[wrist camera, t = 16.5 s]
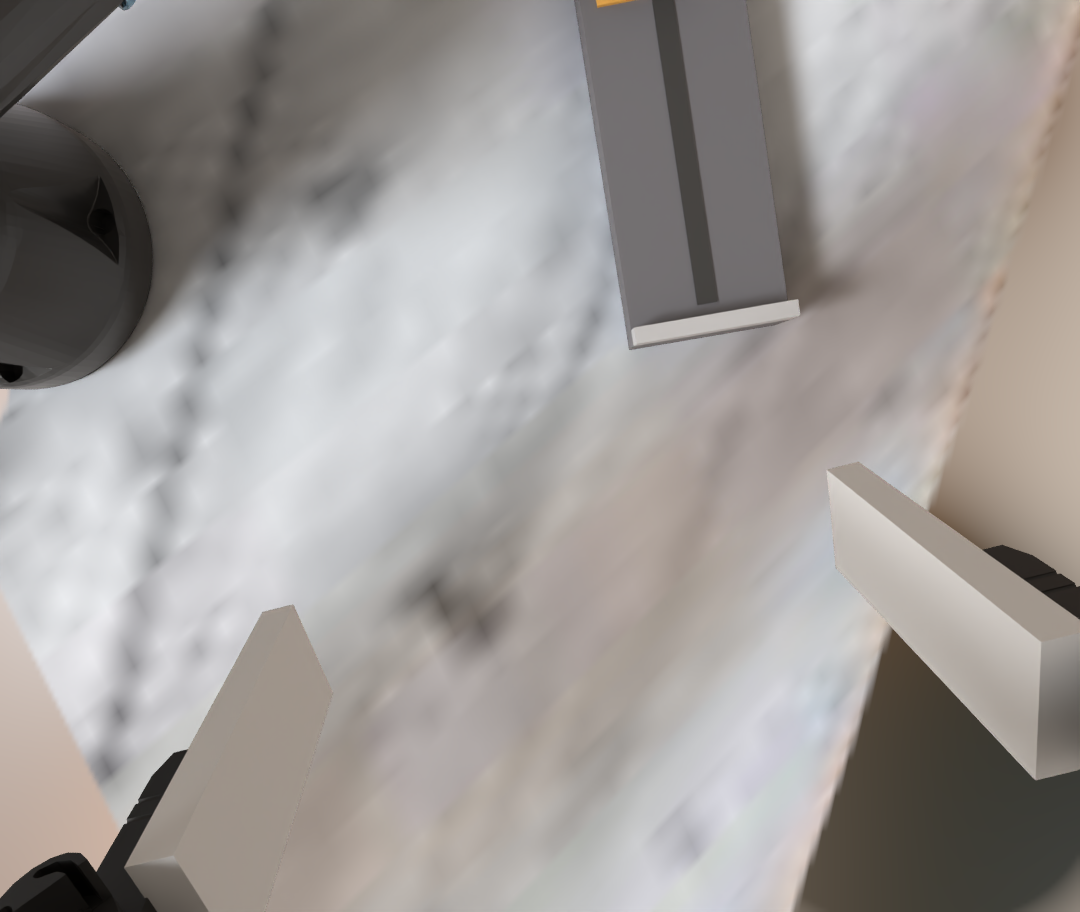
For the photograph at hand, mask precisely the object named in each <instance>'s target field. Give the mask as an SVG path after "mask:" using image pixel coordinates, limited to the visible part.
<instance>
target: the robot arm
mask: <svg viewBox="0 0 1080 912" xmlns="http://www.w3.org/2000/svg"><path fill="white" fill-rule="evenodd" d="M135 1H136V0H0V389H44V388H50V387H56V386H60V385H64V384H67V383H70V382H72V381H75V380H77V379H80V378H82V377H84V376H86V375H87V374H89V373H91V372H93V371H94V370H96V369H97V368H99V367H100V366H101V365H103V364H104V363H105V362H107V361H108V360H109V359H110V358H111V357H112V356H113V355H114V354H115V353H116V352H117V351H118V350H119V349H120V348H121V347H122V345H123V344H124V343H125V342H126V340H127V339H128V337H129V336H130V334H131V333H132V331H133V330H134V328H135V326H136V324H137V322H138V320H139V318H140V316H141V314H142V311H143V309H144V306H145V303H146V300H147V297H148V292H149V288H150V282H151V275H152V245H151V237H150V232H149V227H148V223H147V219H146V216H145V213H144V210H143V207H142V205H141V202H140V200H139V198H138V196H137V194H136V192H135V190H134V188H133V186H132V185H131V183H130V181H129V180H128V178H127V177H126V175H125V174H124V173H123V171H122V170H121V168H120V167H119V166H118V165H117V164H116V163H115V161H114V160H113V159H112V158H111V157H110V156H109V155H108V154H107V153H106V152H105V151H104V150H102V149H101V148H100V147H99V146H98V145H96V144H95V143H94V142H93V141H91V140H90V139H88V138H87V137H85V136H84V135H82V134H80V133H79V132H77V131H75V130H73V129H71V128H70V127H68V126H66V125H64V124H62V123H60V122H58V121H57V120H55V119H53V118H51V117H49V116H47V115H45V114H43V113H41V112H38V111H36V110H33V109H30V108H27V107H25V106H21V105H18V104H16V103H17V102H18V101H19V100H20V99H21V98H22V97H23V96H24V95H25V94H26V93H27V92H28V91H30V90H31V89H32V88H33V87H34V86H35V85H36V84H37V83H38V82H39V81H40V80H41V79H42V78H43V77H44V76H45V75H46V74H47V73H49V72H50V71H51V70H52V69H53V68H54V67H55V66H56V65H57V64H58V63H59V62H60V61H61V60H62V59H63V58H64V57H65V56H67V55H68V54H69V53H70V52H71V51H72V50H73V49H74V48H75V47H76V46H77V45H78V44H79V43H80V42H81V41H82V40H83V39H84V38H86V37H87V36H88V35H89V34H90V33H91V32H92V31H93V30H94V29H95V28H96V27H97V26H98V25H99V24H100V23H101V22H102V21H103V20H105V19H106V18H107V17H108V16H109V15H110V14H111V13H112V12H113V11H114V10H115V9H116V8H117V7H120V8H121V9H122V10H128V9H129V8H130V7H132V6H133V4H134V3H135ZM827 478H828V489H829V500H830V511H831V522H832V533H833V544H834V555H835V566H836V569H837V570H838V571H839V572H840V573H841V574H842V575H843V576H844V577H845V578H846V579H847V580H848V581H849V582H850V583H851V585H852V586H853V587H854V588H855V589H856V590H857V591H858V592H859V593H860V594H861V595H862V596H863V597H864V598H865V599H866V600H867V602H868V603H869V604H870V605H871V606H872V607H873V608H874V609H875V610H876V611H877V612H878V613H879V614H880V615H881V616H882V618H883V619H884V620H885V621H886V622H887V623H888V624H889V625H890V626H891V627H892V628H893V629H894V630H895V631H896V632H897V633H898V634H899V635H900V637H901V638H902V639H903V640H904V641H905V642H906V643H907V644H908V645H909V646H910V647H911V648H912V649H913V650H914V652H915V653H916V654H917V655H918V656H919V657H920V658H921V659H922V660H923V661H924V662H925V663H926V664H927V665H928V666H929V667H930V669H931V670H932V671H933V672H934V673H935V674H936V675H937V676H938V677H939V678H940V679H941V680H942V681H943V682H944V683H945V685H947V686H948V688H949V689H950V690H951V691H952V692H953V693H954V694H955V695H956V696H957V697H958V698H959V699H960V700H961V702H962V703H963V704H964V705H965V706H966V707H967V708H968V709H969V710H970V711H971V712H972V713H973V714H974V715H975V716H976V718H978V720H979V721H980V722H981V723H982V724H983V725H984V726H985V727H986V728H987V729H988V730H989V731H990V732H991V733H992V735H993V736H994V737H995V738H996V739H997V740H998V741H999V742H1000V743H1001V744H1002V745H1003V746H1004V747H1005V748H1006V749H1007V750H1008V752H1009V753H1010V754H1011V755H1012V756H1013V757H1014V758H1015V759H1016V760H1017V761H1018V762H1019V763H1020V764H1021V765H1022V766H1023V767H1024V768H1025V770H1026V771H1027V772H1028V773H1029V774H1030V775H1031V776H1032V777H1033V778H1034V779H1035V780H1039V779H1042V778H1047V777H1051V776H1055V775H1059V774H1063V773H1067V772H1072V771H1076V770H1080V586H1079V587H1076V585H1075V583H1074V582H1072V581H1071V580H1069V579H1068V578H1066V577H1065V576H1063V575H1062V574H1057V573H1056V571H1055V570H1054V569H1053V568H1051V567H1049V566H1048V565H1047V564H1045V563H1043V562H1042V561H1040V560H1039V559H1037V558H1036V557H1034V556H1033V555H1030V554H1027V553H1024V552H1021V551H1018V550H1015V549H1013V548H1009V547H1007V546H1004V545H1000V546H996V547H992V548H988V549H984V550H981V549H980V548H978V547H977V546H976V545H974V544H973V543H971V542H970V541H969V540H967V539H966V538H965V537H963V536H961V535H960V534H959V533H958V532H956V531H955V530H953V529H952V528H950V527H949V526H948V525H946V524H945V523H943V522H942V521H940V520H939V519H938V518H936V517H935V516H934V515H932V514H931V513H929V512H928V511H927V510H925V509H924V508H922V507H921V506H920V505H918V504H917V503H915V502H914V501H913V500H911V499H910V498H908V497H907V496H906V495H904V494H903V493H901V492H900V491H899V490H897V489H896V488H894V487H893V486H892V485H890V484H889V483H887V482H886V481H885V480H883V479H882V478H880V477H879V476H878V475H876V474H875V473H873V472H872V471H871V470H869V469H868V468H866V467H865V466H864V465H862V464H861V463H859V462H856V463H852V464H848V465H844V466H840V467H836V468H832V469H828V470H827ZM332 695H333V692H332V689H331V687H330V685H329V683H328V681H327V678H326V676H325V674H324V672H323V670H322V667H321V665H320V663H319V661H318V658H317V656H316V654H315V652H314V650H313V647H312V645H311V643H310V641H309V638H308V636H307V634H306V632H305V630H304V627H303V625H302V623H301V621H300V619H299V616H298V614H297V612H296V610H295V607H294V605H289V606H285V607H281V608H277V609H273V610H269V611H265V612H262V614H261V616H260V618H259V620H258V621H257V623H256V625H255V627H254V629H253V631H252V632H251V634H250V636H249V638H248V640H247V642H246V644H245V645H244V647H243V649H242V651H241V653H240V655H239V656H238V658H237V660H236V662H235V664H234V666H233V668H232V669H231V671H230V673H229V675H228V677H227V679H226V680H225V682H224V684H223V686H222V688H221V690H220V692H219V693H218V695H217V697H216V699H215V701H214V703H213V704H212V706H211V708H210V710H209V712H208V714H207V716H206V717H205V719H204V721H203V723H202V725H201V727H200V728H199V730H198V732H197V734H196V736H195V738H194V739H193V741H192V743H191V745H190V747H189V749H187V750H183V751H179V752H175V753H173V754H172V755H171V756H170V757H169V759H168V760H167V761H166V762H165V763H164V764H163V765H162V766H161V767H160V768H159V769H158V770H157V771H156V772H155V773H154V774H153V775H152V777H151V779H150V780H149V782H148V784H147V785H146V787H145V789H144V791H143V792H142V794H141V796H140V798H139V799H138V801H139V803H138V804H136V805H135V806H134V808H133V810H132V811H131V813H130V815H129V817H128V818H127V824H124V825H123V827H122V829H121V830H120V832H119V834H118V836H117V837H116V839H115V841H114V842H113V844H112V846H111V848H110V849H109V851H108V853H107V854H106V856H105V858H104V860H103V861H102V863H101V865H100V867H99V868H98V870H97V872H96V871H95V870H94V869H93V867H92V866H91V865H90V863H89V861H88V860H87V859H86V858H85V857H84V856H83V855H82V854H81V853H65V854H62V855H59V856H56V857H53V858H50V859H49V860H47V861H45V862H43V863H42V864H40V865H38V866H37V867H35V868H33V869H31V870H30V871H29V872H28V873H26V874H25V875H24V876H23V877H21V878H20V879H19V880H18V881H16V882H15V883H14V884H13V885H12V886H11V887H10V888H9V889H8V890H7V892H6V893H5V894H4V895H3V896H2V897H1V898H0V912H265V910H266V907H267V904H268V901H269V898H270V894H271V891H272V888H273V885H274V881H275V878H276V875H277V872H278V869H279V865H280V862H281V859H282V856H283V853H284V849H285V846H286V843H287V840H288V836H289V833H290V830H291V827H292V824H293V820H294V817H295V814H296V811H297V808H298V804H299V801H300V798H301V795H302V791H303V788H304V785H305V782H306V779H307V775H308V772H309V769H310V766H311V763H312V759H313V756H314V753H315V750H316V746H317V743H318V740H319V737H320V734H321V730H322V727H323V724H324V721H325V718H326V714H327V711H328V708H329V705H330V702H331V698H332Z"/></svg>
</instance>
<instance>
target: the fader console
mask: <svg viewBox="0 0 1080 912" xmlns="http://www.w3.org/2000/svg"><path fill="white" fill-rule="evenodd" d="M575 7H576V13H577V19H578V26H579V32H580V39H581V45H582V51H583V58H584V64H585V70H586V77H587V83H588V90H589V96H590V102H591V109H592V115H593V121H594V128H595V134H596V141H597V147H598V153H599V160H600V166H601V172H602V179H603V185H604V192H605V198H606V204H607V211H608V217H609V223H610V230H611V236H612V243H613V249H614V255H615V262H616V268H617V275H618V281H619V287H620V294H621V300H622V306H623V313H624V319H625V326H626V332H627V338H628V345H629V350H632V349H638V348H644V347H650V346H655V345H661V344H667V343H673V342H679V341H685V340H690V339H696V338H702V337H708V336H714V335H719V334H725V333H731V332H737V331H743V330H749V329H754V328H760V327H766V326H772V325H776V324H779V323H782V322H784V321H787V320H790V319H793V318H795V317H798V316H800V309H799V302H798V299H796V300H790V301H788V300H787V292H786V285H785V278H784V271H783V264H782V256H781V249H780V242H779V235H778V228H777V220H776V213H775V206H774V199H773V192H772V184H771V177H770V170H769V163H768V156H767V148H766V141H765V134H764V127H763V120H762V112H761V105H760V98H759V91H758V84H757V76H756V69H755V62H754V55H753V48H752V41H751V33H750V26H749V19H748V12H747V5H746V0H575Z"/></svg>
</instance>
